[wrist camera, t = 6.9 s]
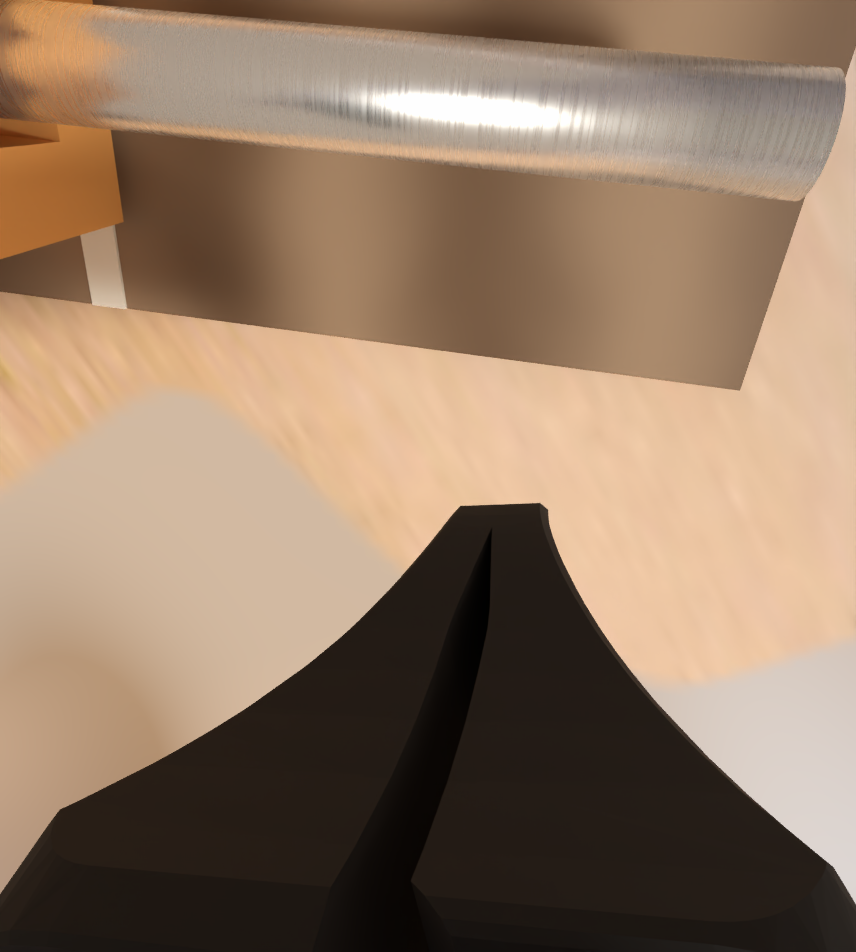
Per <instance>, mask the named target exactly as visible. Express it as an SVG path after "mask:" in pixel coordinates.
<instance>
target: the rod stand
mask: <svg viewBox="0 0 856 952" xmlns="http://www.w3.org/2000/svg"><path fill="white" fill-rule="evenodd" d="M92 1H93V5H92V4H80V3H68V2H56V1H45V0H0V118H3V119H13V120H22V121H32V122H41V123H51V124H61V125H70V126H80V127H89V128H99V129H108V130H111V136H112V143H113V150H114V157H115V164H116V171H117V178H118V185H119V192H120V199H121V206H122V213H123V220H124V222H122V223H119V224H115V225H112V226H109V227H105V228H102V229H99V230H96V231H92V232H89V233H86V234H82V235H79V236H76V237H72V238H69V239H66V240H63V241H59V242H56V243H53V244H49V245H46V246H43V247H39V248H36V249H33V250H30V251H26V252H23V253H20V254H16V255H13V256H10V257H6V258H3V259H0V291H1V292H8V293H16V294H23V295H31V296H38V297H46V298H53V299H60V300H68V301H75V302H83V303H90V304H92V305H96V306H104V307H111V308H118V309H127V308H128V309H135V310H143V311H150V312H157V313H165V314H172V315H180V316H187V317H195V318H202V319H210V320H217V321H225V322H232V323H240V324H247V325H255V326H262V327H269V328H277V329H284V330H292V331H299V332H307V333H314V334H322V335H329V336H337V337H344V338H352V339H359V340H366V341H374V342H381V343H389V344H396V345H404V346H411V347H419V348H426V349H434V350H441V351H449V352H456V353H464V354H471V355H478V356H486V357H493V358H501V359H508V360H516V361H523V362H531V363H538V364H546V365H553V366H561V367H568V368H576V369H583V370H590V371H598V372H605V373H613V374H620V375H628V376H635V377H643V378H650V379H658V380H665V381H673V382H680V383H687V384H695V385H702V386H710V387H717V388H725V389H732V390H740V389H741V386H742V383H743V380H744V377H745V374H746V371H747V368H748V365H749V362H750V359H751V356H752V353H753V350H754V347H755V344H756V341H757V338H758V335H759V332H760V329H761V326H762V323H763V320H764V317H765V314H766V311H767V308H768V305H769V302H770V299H771V297H772V294H773V291H774V288H775V285H776V282H777V279H778V276H779V273H780V270H781V267H782V264H783V261H784V258H785V255H786V252H787V249H788V246H789V243H790V240H791V237H792V234H793V231H794V228H795V225H796V222H797V219H798V216H799V213H800V210H801V207H802V205H803V202H804V199H805V196H806V194H807V193H808V192H809V191H810V190H811V188H812V187H813V185H814V184H815V182H816V181H817V179H818V177H819V176H820V174H821V172H822V170H823V168H824V166H825V164H826V161H827V159H828V157H829V154H830V152H831V149H832V147H833V144H834V141H835V138H836V135H837V132H838V128H839V125H840V121H841V117H842V112H843V107H844V101H845V90H846V84H845V77H846V74H847V71H848V68H849V65H850V62H851V59H852V56H853V53H854V50H855V47H856V0H92Z"/></svg>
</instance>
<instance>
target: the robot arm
mask: <svg viewBox="0 0 856 952" xmlns="http://www.w3.org/2000/svg"><path fill="white" fill-rule="evenodd" d="M0 952H856V904H855V902H854V901H853V899H852V897H851V896H850V894H849V892H848V891H847V889H846V887H845V886H844V884H843V882H842V881H841V879H840V877H839V876H838V874H837V872H836V871H835V869H834V868H833V866H831V865H830V864H829V863H827V862H826V861H825V860H824V859H823V858H821V857H820V856H819V855H818V854H817V853H815V852H814V851H813V850H812V849H810V848H809V847H808V846H807V845H806V844H804V843H803V842H802V841H801V840H800V839H798V838H797V837H796V836H795V835H794V834H792V833H791V832H790V831H789V830H788V829H786V828H785V827H784V826H783V825H782V824H780V823H779V822H778V821H777V820H776V819H775V818H774V817H773V816H771V815H770V814H769V813H768V812H767V811H766V810H764V809H763V808H762V807H761V806H760V805H759V804H758V803H756V802H755V801H754V800H753V799H752V798H751V797H750V796H749V795H747V794H746V793H745V792H744V791H743V790H742V789H741V788H740V787H739V786H738V785H737V784H736V783H735V782H734V781H733V780H732V779H731V778H730V777H728V776H727V775H726V774H725V773H724V772H723V771H722V770H721V769H720V768H719V767H718V766H717V765H716V764H715V763H714V762H713V761H712V760H710V759H709V758H708V757H707V756H706V755H705V754H704V753H703V751H702V750H701V749H700V748H699V747H698V746H697V745H696V744H695V743H694V742H693V741H692V740H691V739H690V738H689V737H688V735H687V734H686V733H685V732H684V731H683V730H682V729H681V728H680V727H679V726H678V725H677V724H676V723H675V722H674V721H673V720H672V718H671V717H670V716H669V715H668V714H667V713H666V712H665V711H664V710H663V709H662V708H661V707H660V706H659V705H658V704H657V702H656V701H655V700H654V699H653V698H652V697H651V695H650V694H649V693H648V692H647V690H646V689H645V688H644V687H643V686H642V684H641V683H640V682H639V681H638V679H637V678H636V677H635V676H634V675H633V673H632V672H631V671H630V669H629V668H628V667H627V666H626V664H625V663H624V662H623V660H622V659H621V658H620V656H619V655H618V654H617V652H616V651H615V650H614V648H613V647H612V645H611V644H610V642H609V641H608V640H607V638H606V637H605V635H604V634H603V632H602V631H601V629H600V628H599V626H598V625H597V623H596V621H595V620H594V618H593V617H592V615H591V613H590V612H589V610H588V608H587V607H586V605H585V604H584V602H583V600H582V598H581V596H580V595H579V593H578V591H577V589H576V587H575V585H574V583H573V581H572V579H571V577H570V575H569V574H568V572H567V570H566V568H565V566H564V564H563V561H562V559H561V557H560V555H559V552H558V550H557V547H556V544H555V542H554V539H553V536H552V533H551V530H550V526H549V518H548V509H546V508H545V507H544V506H543V505H542V504H540V503H532V504H505V505H478V506H460V507H459V508H458V509H457V510H456V511H455V512H454V514H453V515H452V516H451V517H450V519H449V520H448V521H447V522H446V524H445V525H444V526H443V527H442V529H441V530H440V531H439V532H438V534H437V535H436V536H435V537H434V539H433V540H432V541H431V542H430V544H429V545H428V546H427V547H426V548H425V550H424V551H423V552H422V553H421V555H420V556H419V557H418V558H417V559H416V560H415V561H414V563H413V564H412V565H411V566H410V567H409V568H408V570H407V571H406V572H405V573H404V574H403V575H402V576H401V578H400V579H399V580H398V581H397V582H396V583H395V584H394V586H392V588H391V589H390V590H389V591H388V592H387V593H386V594H385V595H384V596H383V597H382V598H381V599H380V600H379V601H378V602H377V603H376V604H375V605H374V606H373V607H372V608H371V609H370V610H369V611H368V612H367V613H366V614H365V615H364V616H363V617H362V618H361V619H360V620H359V621H358V622H357V623H356V624H355V625H354V626H353V627H352V628H351V629H350V630H348V631H347V632H346V633H345V634H344V635H343V636H342V637H341V638H340V639H338V640H337V641H336V642H335V643H334V644H332V645H331V646H330V647H329V648H327V649H326V650H325V651H324V652H323V653H322V654H320V655H319V656H318V657H317V658H316V659H314V660H313V661H312V662H310V663H309V664H308V665H307V666H305V667H304V668H303V669H301V670H300V671H299V672H297V673H296V674H294V675H293V676H292V677H290V678H289V679H287V680H286V681H284V682H283V683H282V684H280V685H279V686H277V687H276V688H275V689H273V690H272V691H270V692H269V693H267V694H266V695H265V696H263V697H262V698H261V699H259V700H258V701H256V702H255V703H253V704H252V705H251V706H249V707H248V708H246V709H245V710H243V711H242V712H240V713H238V714H237V715H235V716H234V717H232V718H230V719H229V720H227V721H226V722H224V723H222V724H221V725H219V726H218V727H216V728H214V729H213V730H211V731H209V732H208V733H206V734H204V735H203V736H201V737H199V738H197V739H196V740H194V741H192V742H191V743H189V744H187V745H185V746H184V747H182V748H180V749H179V750H177V751H175V752H173V753H171V754H169V755H168V756H166V757H164V758H162V759H160V760H159V761H157V762H155V763H153V764H151V765H149V766H147V767H145V768H143V769H141V770H139V771H137V772H136V773H133V774H131V775H129V776H127V777H125V778H123V779H121V780H119V781H117V782H116V783H114V784H111V785H109V786H107V787H106V788H103V789H102V790H100V791H98V792H96V793H94V794H92V795H90V796H88V797H86V798H84V799H82V800H80V801H77V802H75V803H73V804H71V805H69V806H67V807H65V808H62V809H60V811H59V812H58V813H57V814H56V816H55V817H54V818H53V820H52V821H51V822H50V824H49V825H48V826H47V828H46V829H45V831H44V832H43V834H42V835H41V836H40V838H39V839H38V841H37V842H36V844H35V845H34V847H33V848H32V849H31V851H30V852H29V854H28V855H27V857H26V858H25V860H24V861H23V862H22V864H21V865H20V867H19V868H18V869H17V871H16V872H15V874H14V875H13V877H12V878H11V879H10V881H9V882H8V884H7V885H6V887H5V888H4V890H3V891H2V892H1V894H0Z"/></svg>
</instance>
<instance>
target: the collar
mask: <svg viewBox="0 0 856 952" xmlns="http://www.w3.org/2000/svg"><path fill="white" fill-rule="evenodd" d="M45 1H56V2H68V3H80V4H92V5H93V1H92V0H45ZM122 222H124V220H123V213H122V206H121V199H120V192H119V185H118V178H117V171H116V164H115V157H114V150H113V143H112V136H111V130H108V129H99V128H89V127H80V126H70V125H61V124H51V123H41V122H32V121H22V120H13V119H3V118H0V259H3V258H6V257H10V256H13V255H16V254H20V253H23V252H26V251H30V250H33V249H36V248H39V247H43V246H46V245H49V244H53V243H56V242H59V241H63V240H66V239H69V238H72V237H76V236H79V235H82V234H86V233H89V232H92V231H96V230H99V229H102V228H105V227H109V226H112V225H115V224H119V223H122Z"/></svg>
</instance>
